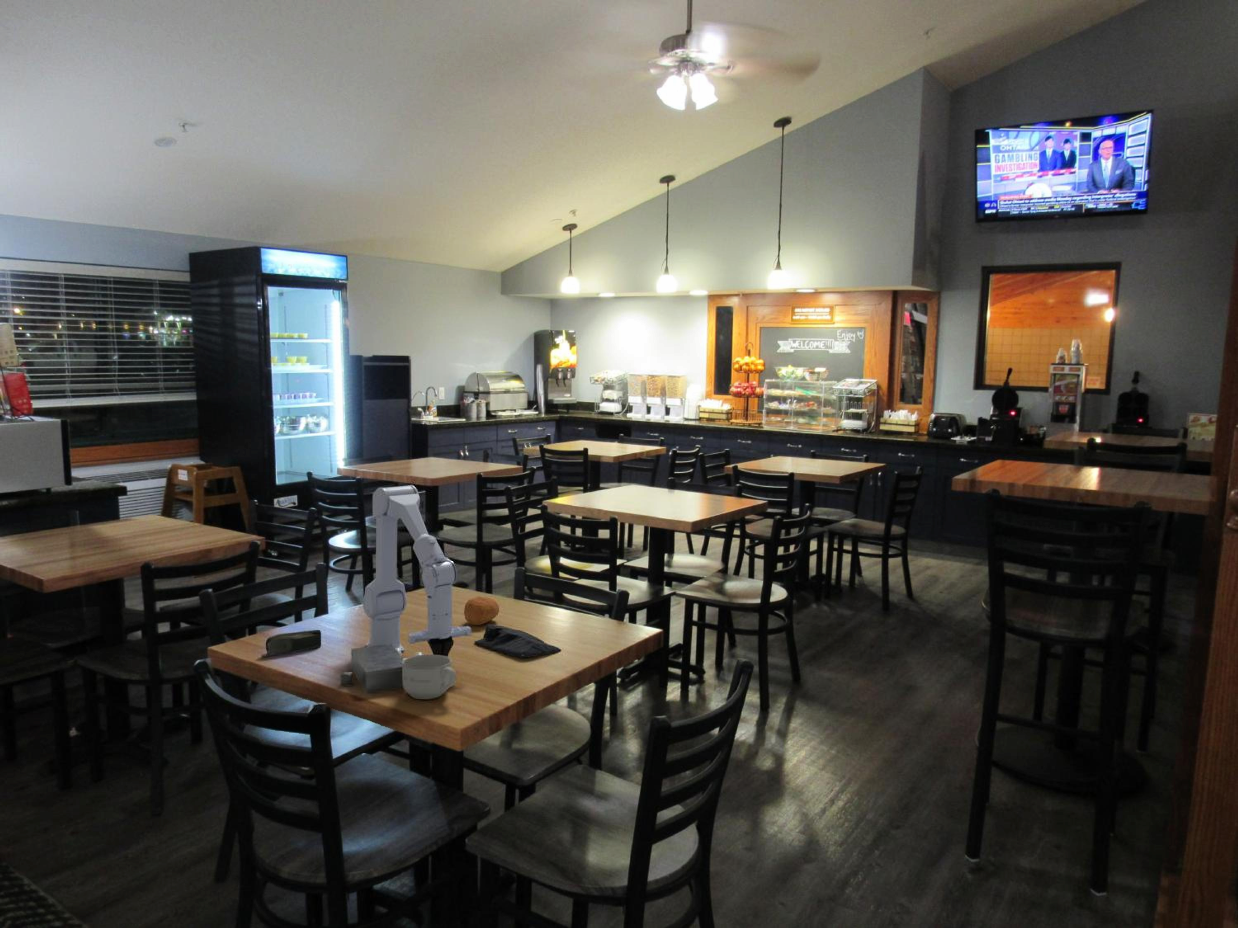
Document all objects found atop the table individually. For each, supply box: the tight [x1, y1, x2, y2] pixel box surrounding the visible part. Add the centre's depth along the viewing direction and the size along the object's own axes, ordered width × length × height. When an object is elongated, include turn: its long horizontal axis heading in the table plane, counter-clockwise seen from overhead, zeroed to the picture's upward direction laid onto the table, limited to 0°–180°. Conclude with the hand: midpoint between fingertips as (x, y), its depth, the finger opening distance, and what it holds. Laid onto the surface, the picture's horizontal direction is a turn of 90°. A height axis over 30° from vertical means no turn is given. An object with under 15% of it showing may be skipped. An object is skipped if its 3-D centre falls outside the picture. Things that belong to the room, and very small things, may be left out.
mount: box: [350, 644, 404, 694], centre depth 199 cm, size 18×10×5 cm, turn 27°
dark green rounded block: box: [261, 629, 322, 658], centre depth 217 cm, size 5×3×15 cm
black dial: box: [339, 671, 354, 687], centre depth 194 cm, size 3×3×3 cm
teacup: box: [402, 654, 457, 700], centre depth 187 cm, size 14×11×8 cm
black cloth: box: [474, 623, 562, 659], centre depth 222 cm, size 15×22×5 cm
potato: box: [463, 595, 500, 626], centre depth 244 cm, size 9×11×8 cm
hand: (440, 668), depth 200 cm, fingers closed
